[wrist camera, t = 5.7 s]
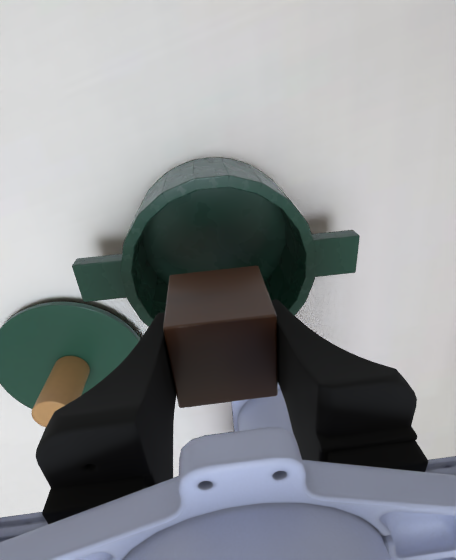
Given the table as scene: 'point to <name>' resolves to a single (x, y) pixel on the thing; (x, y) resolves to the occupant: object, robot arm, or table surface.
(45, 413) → the lid
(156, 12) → the table surface
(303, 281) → the pot
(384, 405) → the robot arm
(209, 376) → the block
